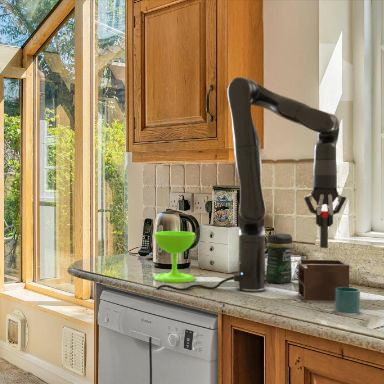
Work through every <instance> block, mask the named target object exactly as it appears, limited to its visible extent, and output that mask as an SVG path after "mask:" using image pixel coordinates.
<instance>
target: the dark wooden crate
mask: <svg viewBox="0 0 384 384" xmlns="http://www.w3.org/2000/svg"><path fill="white" fill-rule="evenodd" d="M297 272H298V276H297V277H298V278H297V281H298V282H297V283H298V284H297V288H298V289H297V295H298V296H299V297H301V298H302V299H303V301H318V302H319V301H320V302H321V301H323V302H329V301H330V302H335V288H338V287H350V264H349V263H346V262H345V261H343V260H341V259H300V262H298V271H297Z"/></svg>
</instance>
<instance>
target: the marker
mask: <svg viewBox="0 0 384 384" xmlns="http://www.w3.org/2000/svg"><path fill="white" fill-rule="evenodd" d="M319 231H320V233H319V236H320V237H319V248H322V249H328V247H329V227H328V210H321V227H320V229H319Z"/></svg>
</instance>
